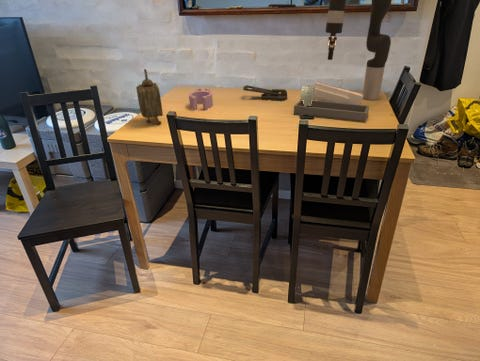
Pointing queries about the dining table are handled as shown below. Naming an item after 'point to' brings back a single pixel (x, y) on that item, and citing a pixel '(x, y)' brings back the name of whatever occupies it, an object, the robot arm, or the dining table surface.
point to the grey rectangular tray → (333, 110)
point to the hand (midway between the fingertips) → (330, 58)
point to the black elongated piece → (269, 93)
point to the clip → (201, 99)
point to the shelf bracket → (336, 95)
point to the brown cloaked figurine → (149, 99)
